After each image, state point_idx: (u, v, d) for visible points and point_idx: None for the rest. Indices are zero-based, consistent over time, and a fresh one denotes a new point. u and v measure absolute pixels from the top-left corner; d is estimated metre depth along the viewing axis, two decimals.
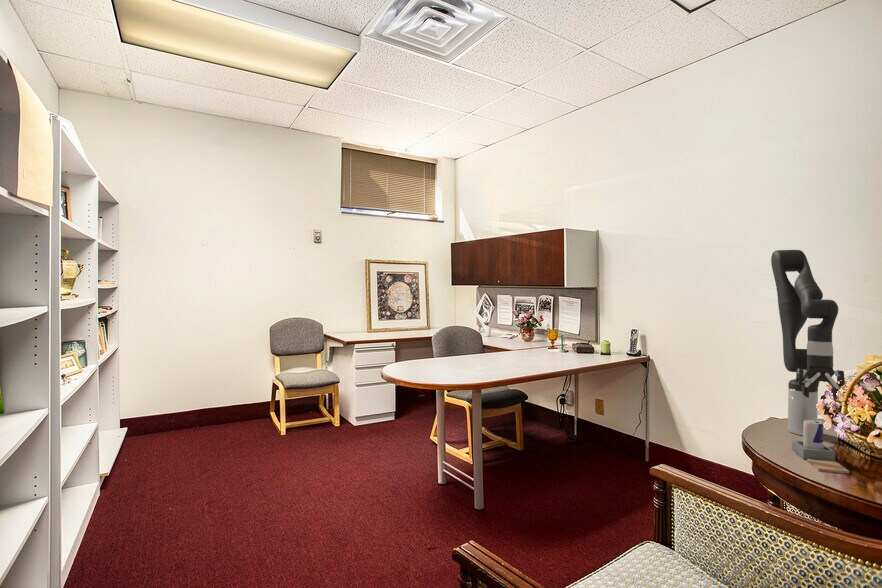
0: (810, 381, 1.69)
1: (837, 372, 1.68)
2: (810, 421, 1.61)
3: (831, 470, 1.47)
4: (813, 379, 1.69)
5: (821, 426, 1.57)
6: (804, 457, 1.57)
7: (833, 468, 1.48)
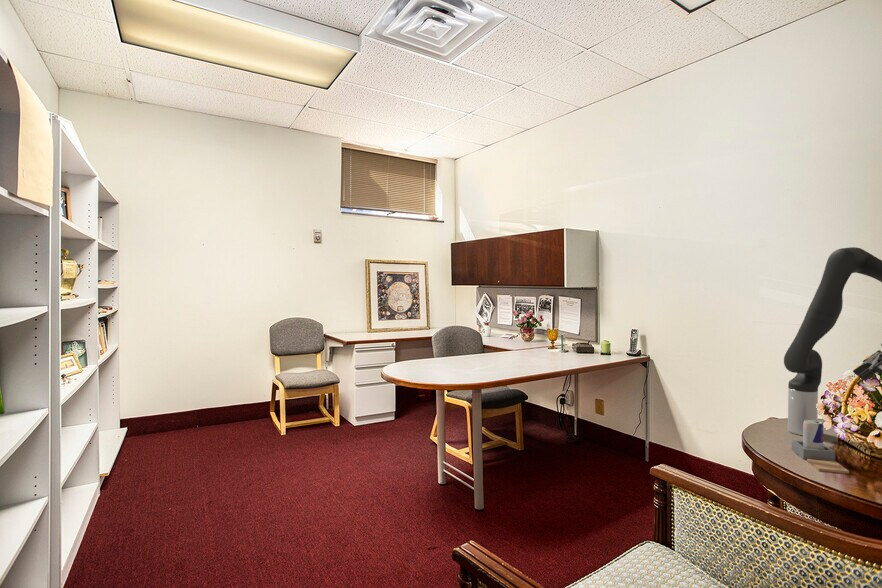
0: None
1: None
2: (810, 421, 1.61)
3: (831, 470, 1.47)
4: None
5: (821, 426, 1.57)
6: (804, 457, 1.57)
7: (833, 468, 1.48)
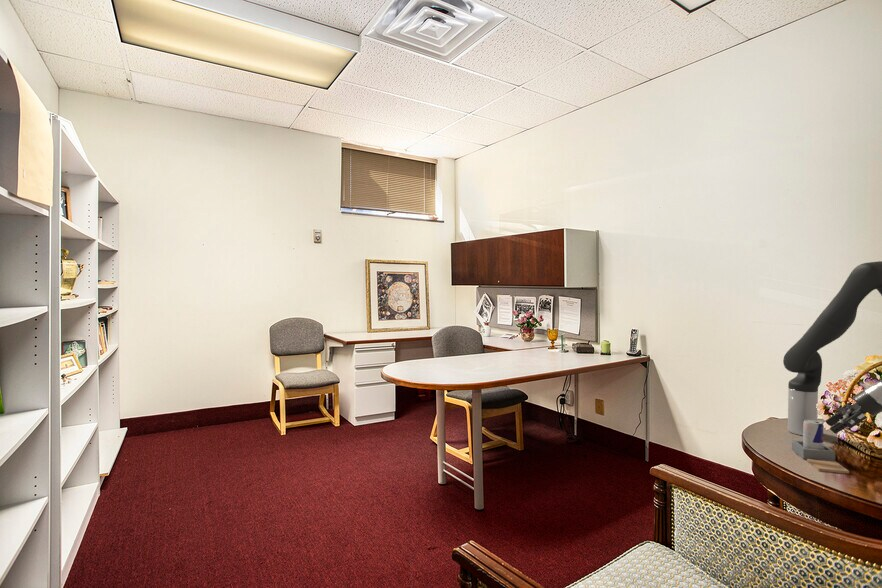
0: None
1: None
2: (810, 421, 1.61)
3: (831, 470, 1.47)
4: None
5: (821, 426, 1.57)
6: (804, 457, 1.57)
7: (833, 468, 1.48)
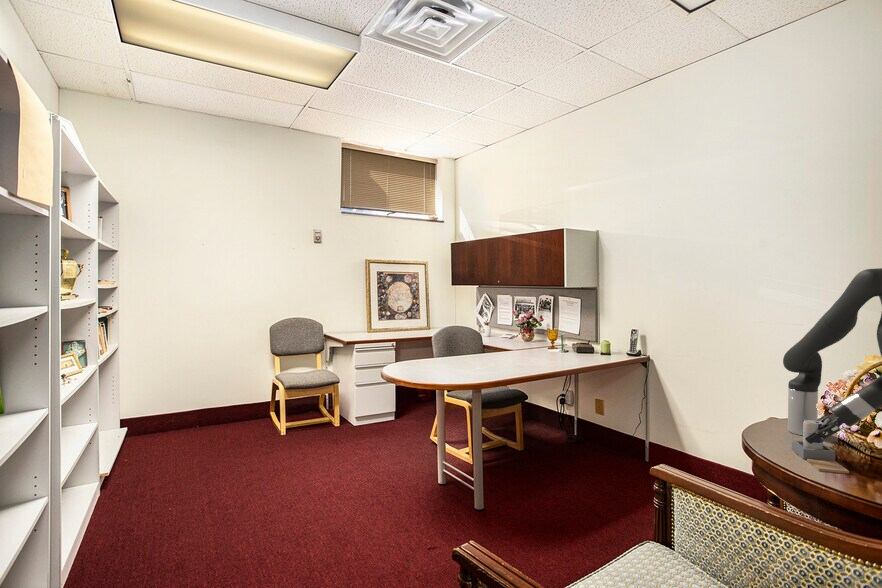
0: None
1: None
2: (810, 421, 1.61)
3: (831, 470, 1.47)
4: None
5: None
6: (804, 457, 1.57)
7: (833, 468, 1.48)
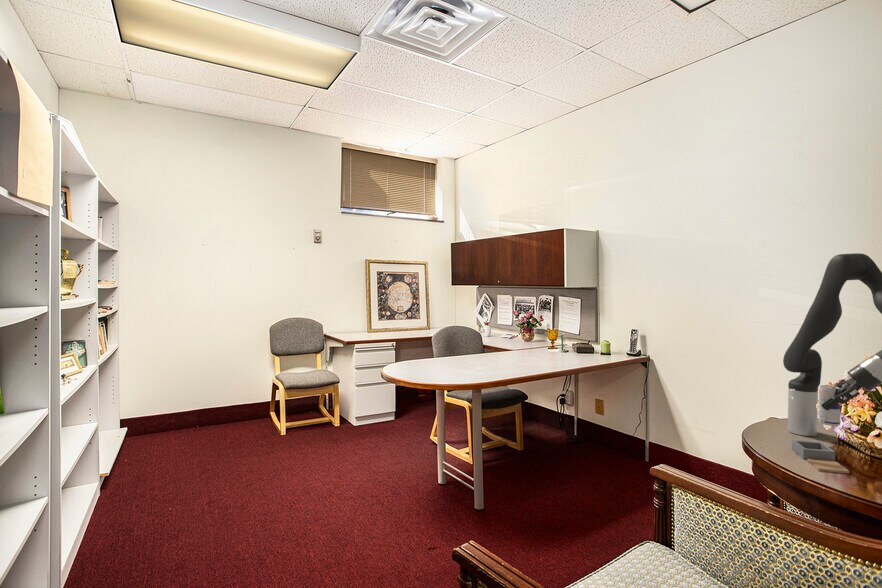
0: None
1: None
2: (826, 387, 1.51)
3: (831, 470, 1.47)
4: None
5: None
6: (804, 457, 1.57)
7: (833, 468, 1.48)
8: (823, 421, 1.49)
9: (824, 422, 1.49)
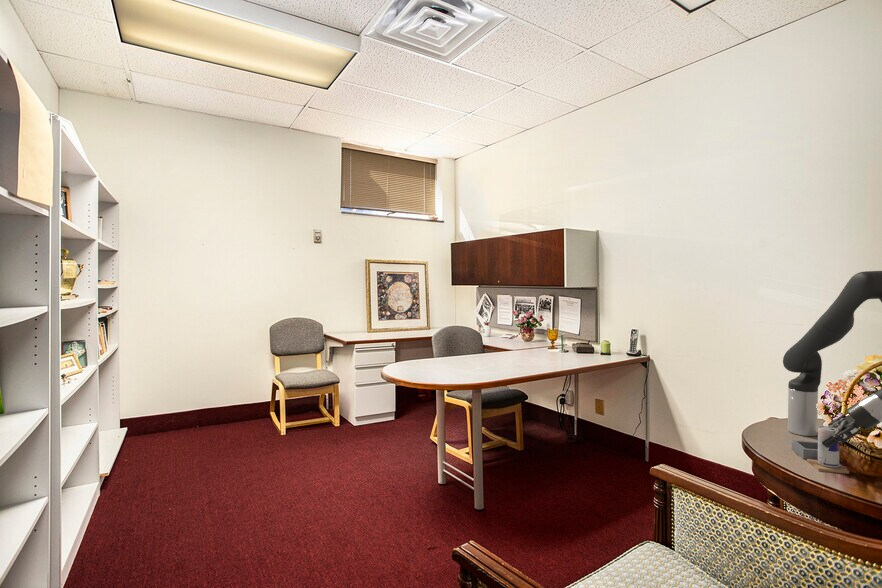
0: (846, 437, 1.45)
1: None
2: (825, 428, 1.51)
3: (831, 470, 1.47)
4: None
5: None
6: (804, 457, 1.57)
7: (833, 468, 1.48)
8: (822, 463, 1.50)
9: (823, 464, 1.50)
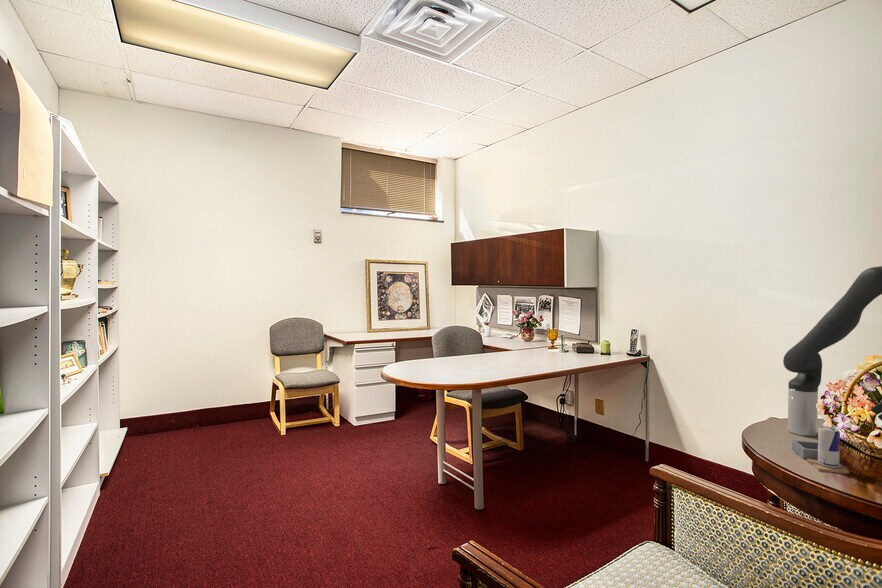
0: None
1: None
2: (825, 428, 1.51)
3: (831, 470, 1.47)
4: None
5: (838, 434, 1.48)
6: (804, 457, 1.57)
7: (833, 468, 1.48)
8: (822, 463, 1.50)
9: (823, 464, 1.50)
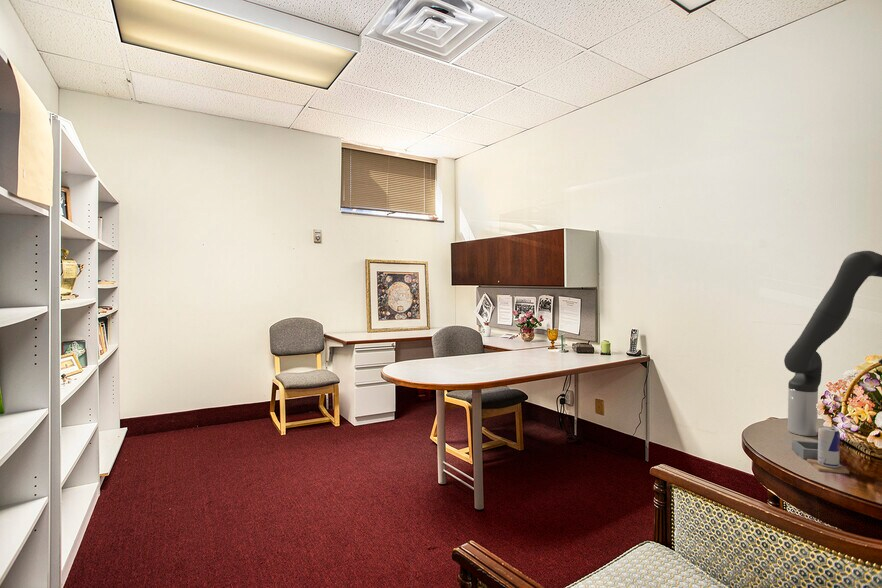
0: None
1: None
2: (825, 428, 1.51)
3: (831, 470, 1.47)
4: None
5: (838, 434, 1.48)
6: (804, 457, 1.57)
7: (833, 468, 1.48)
8: (822, 463, 1.50)
9: (823, 464, 1.50)
